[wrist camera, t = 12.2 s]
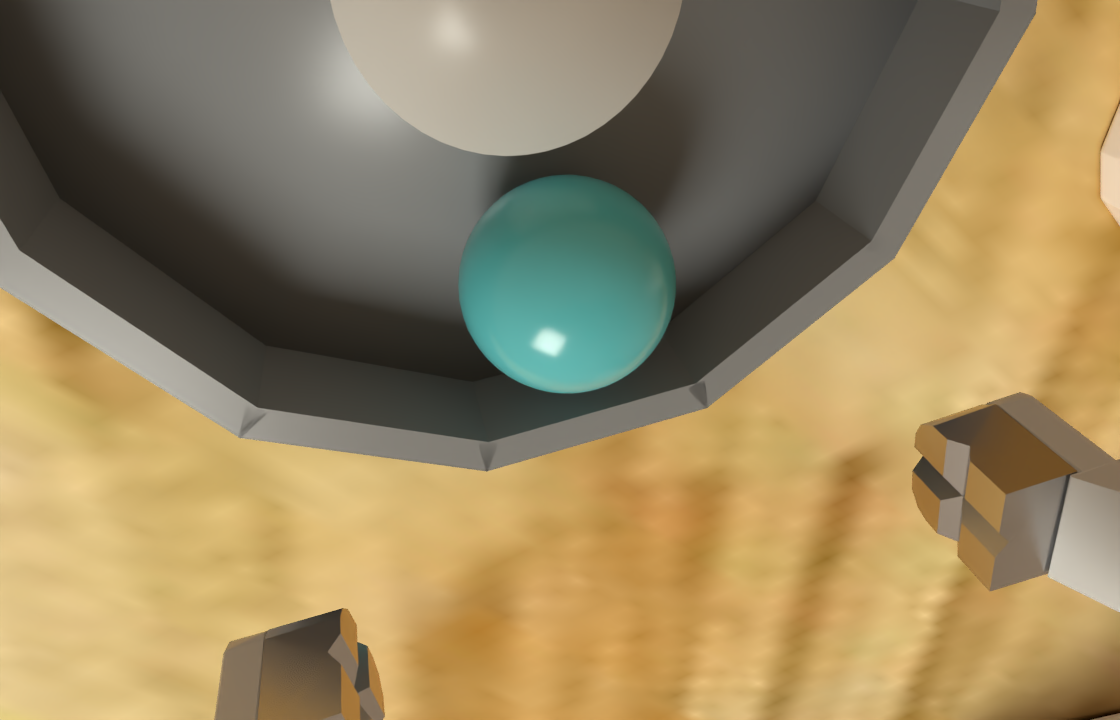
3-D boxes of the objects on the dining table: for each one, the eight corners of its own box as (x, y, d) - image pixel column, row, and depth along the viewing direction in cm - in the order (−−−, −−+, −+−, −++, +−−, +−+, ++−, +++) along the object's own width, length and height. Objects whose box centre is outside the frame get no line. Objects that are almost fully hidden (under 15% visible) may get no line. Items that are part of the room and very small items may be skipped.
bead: (627, 124, 18) (700, 197, 14) (648, 301, 20) (716, 403, 17) (425, 173, 17) (445, 261, 14) (472, 347, 20) (501, 462, 16)
